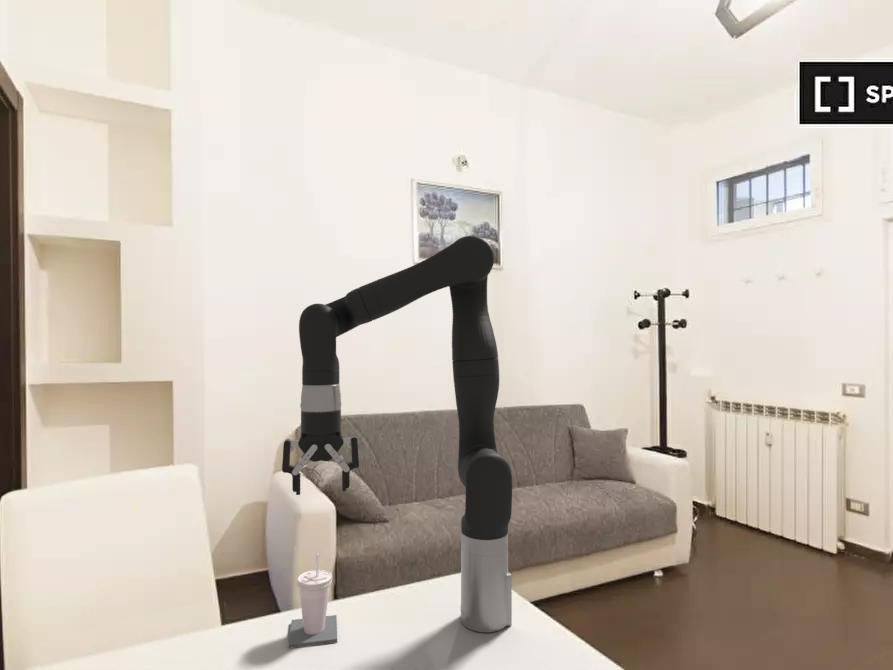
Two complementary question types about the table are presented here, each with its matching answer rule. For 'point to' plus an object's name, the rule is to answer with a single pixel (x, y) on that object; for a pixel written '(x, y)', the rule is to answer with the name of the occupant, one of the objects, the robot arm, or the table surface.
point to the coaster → (303, 639)
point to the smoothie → (314, 598)
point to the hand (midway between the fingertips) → (321, 492)
